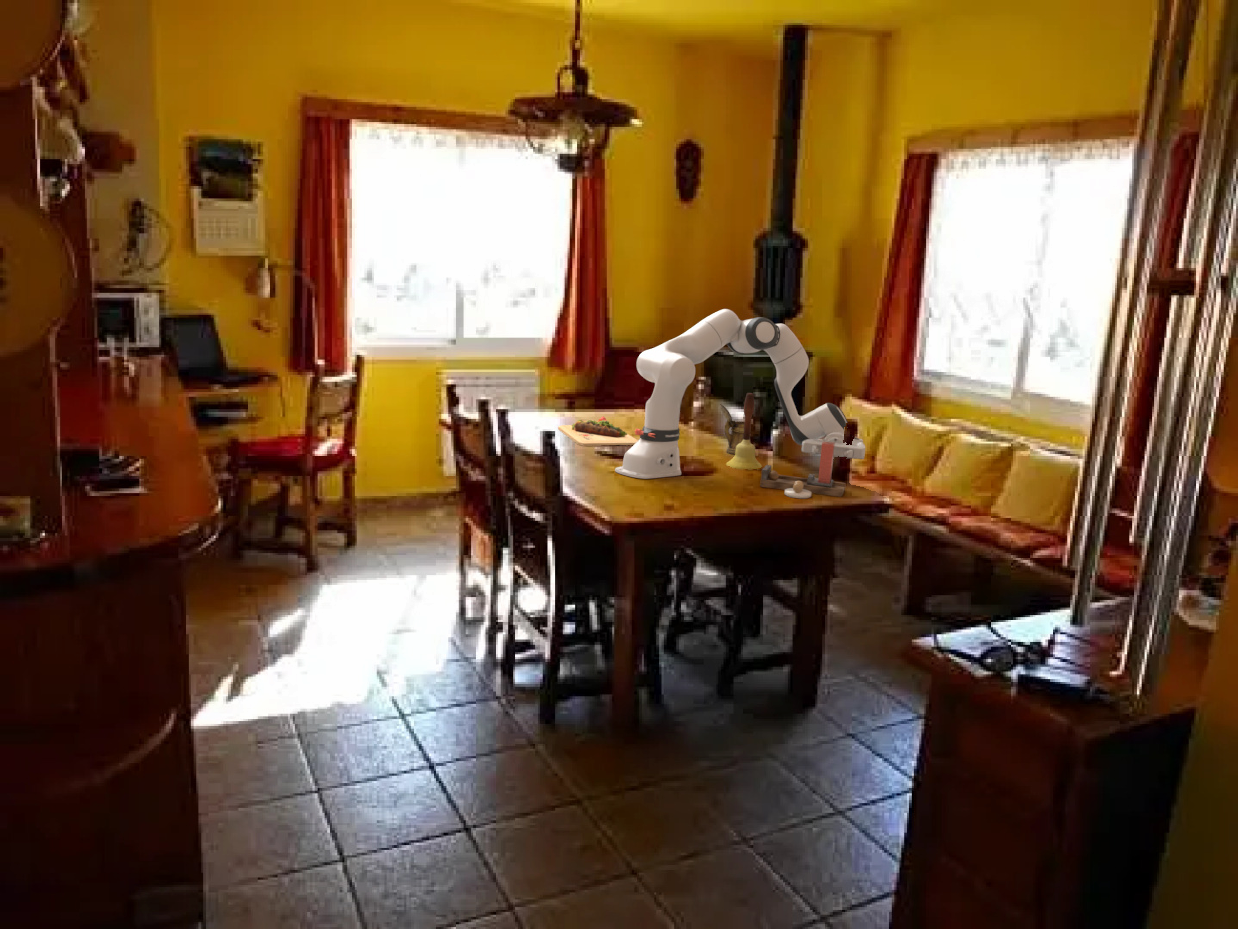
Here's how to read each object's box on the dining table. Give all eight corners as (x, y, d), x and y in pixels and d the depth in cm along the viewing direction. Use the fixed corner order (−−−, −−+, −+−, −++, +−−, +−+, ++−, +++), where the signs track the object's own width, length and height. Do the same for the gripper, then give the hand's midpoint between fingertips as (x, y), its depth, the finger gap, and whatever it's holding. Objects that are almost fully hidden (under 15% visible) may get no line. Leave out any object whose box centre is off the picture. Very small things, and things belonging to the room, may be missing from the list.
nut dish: (801, 499, 287) (802, 486, 286) (779, 494, 293) (780, 480, 292) (816, 496, 293) (817, 482, 292) (794, 490, 298) (795, 477, 297)
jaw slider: (806, 486, 298) (810, 443, 295) (809, 482, 304) (813, 439, 301) (830, 489, 296) (835, 445, 293) (833, 484, 302) (837, 442, 299)
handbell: (752, 461, 338) (758, 390, 333) (768, 469, 327) (775, 396, 321) (720, 462, 334) (725, 390, 329) (735, 470, 323) (741, 396, 317)
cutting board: (556, 429, 381) (557, 411, 379) (613, 429, 388) (614, 411, 386) (580, 448, 348) (581, 427, 347) (641, 447, 356) (642, 427, 354)
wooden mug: (711, 450, 353) (714, 401, 349) (744, 450, 357) (748, 402, 353) (721, 455, 345) (725, 405, 341) (755, 455, 349) (759, 406, 345)
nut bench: (760, 486, 301) (761, 470, 300) (765, 480, 310) (767, 464, 309) (841, 496, 294) (843, 480, 292) (844, 489, 303) (846, 473, 302)
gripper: (805, 433, 324) (799, 439, 311) (867, 439, 318) (864, 447, 305) (803, 451, 325) (797, 458, 312) (865, 458, 319) (861, 466, 306)
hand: (830, 453), depth 309 cm, fingers open, 8 cm apart
